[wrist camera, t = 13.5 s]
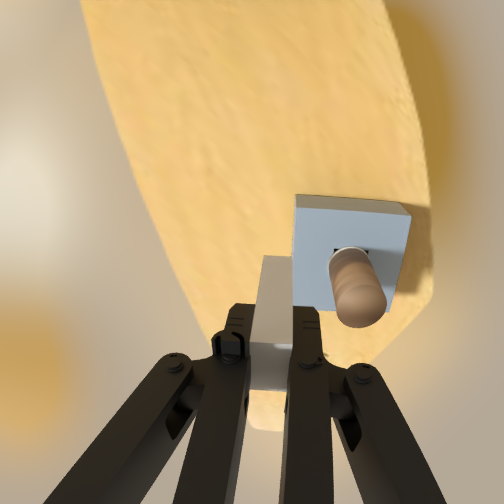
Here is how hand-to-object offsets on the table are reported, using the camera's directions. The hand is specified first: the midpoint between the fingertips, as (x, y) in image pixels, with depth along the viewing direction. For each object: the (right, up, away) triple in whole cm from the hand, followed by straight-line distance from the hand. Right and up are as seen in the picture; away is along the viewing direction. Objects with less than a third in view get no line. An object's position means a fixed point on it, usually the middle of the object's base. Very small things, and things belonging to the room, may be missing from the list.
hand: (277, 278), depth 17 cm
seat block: (+13, +2, +31) cm, 34 cm away
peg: (+13, +2, +30) cm, 33 cm away
